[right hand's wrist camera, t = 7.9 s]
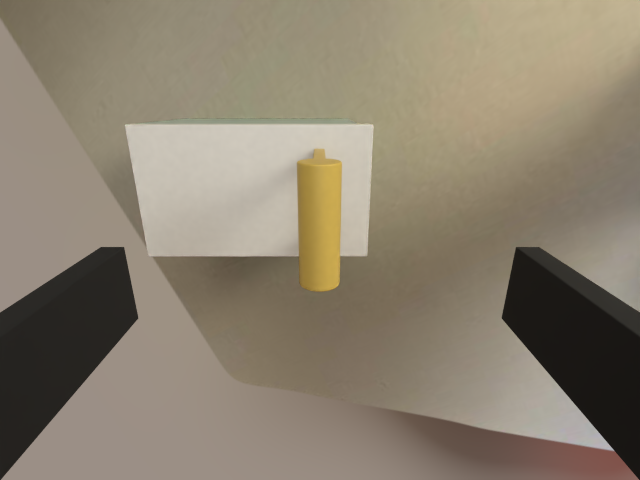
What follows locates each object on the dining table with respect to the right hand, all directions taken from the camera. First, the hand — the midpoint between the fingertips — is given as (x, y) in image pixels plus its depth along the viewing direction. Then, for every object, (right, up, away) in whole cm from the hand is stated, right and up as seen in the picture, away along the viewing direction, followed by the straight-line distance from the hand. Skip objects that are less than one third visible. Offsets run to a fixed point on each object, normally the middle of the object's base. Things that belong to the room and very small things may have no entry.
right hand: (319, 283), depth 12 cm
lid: (-5, +5, +14) cm, 15 cm away
